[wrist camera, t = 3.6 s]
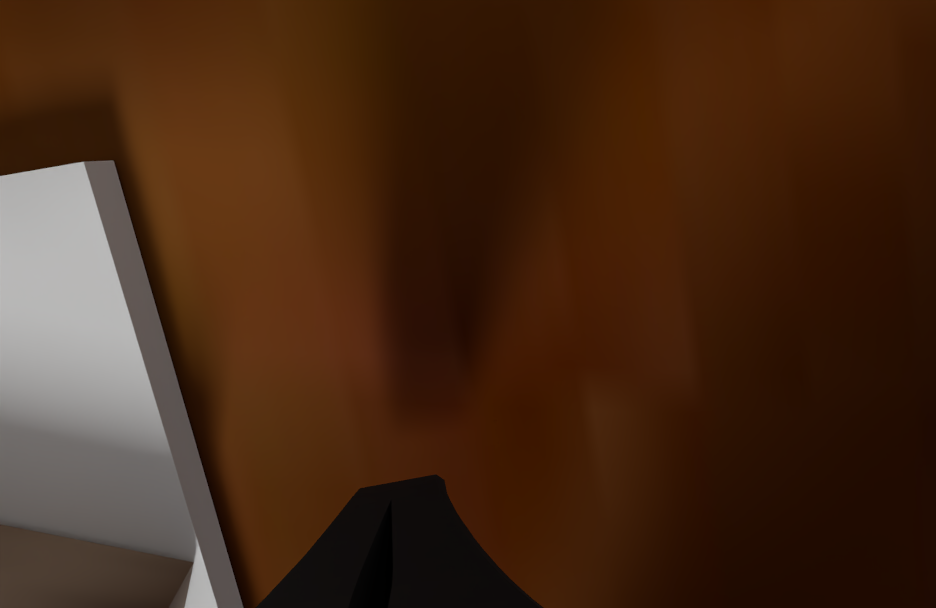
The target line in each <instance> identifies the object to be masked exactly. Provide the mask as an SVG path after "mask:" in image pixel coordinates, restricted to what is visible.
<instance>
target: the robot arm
mask: <svg viewBox="0 0 936 608" xmlns="http://www.w3.org/2000/svg"><path fill="white" fill-rule="evenodd" d="M256 608H543V607H542V606H540V605H539V604H538V603H537V602H536V601H534V600H533V599H532V598H531V597H529V596H528V595H527V594H526V593H525V592H524V591H523V590H522V589H521V588H519V587H518V586H517V585H516V584H515V583H514V582H513V581H512V580H511V579H510V578H509V577H508V576H507V575H506V574H505V573H504V572H503V571H502V570H501V569H500V568H499V567H498V566H497V565H496V564H495V562H494V561H493V560H492V559H491V558H490V557H489V556H488V554H487V553H486V552H485V551H484V550H483V549H482V547H481V546H480V545H479V544H478V542H477V541H476V540H475V539H474V537H473V536H472V534H471V533H470V531H469V530H468V529H467V527H466V526H465V524H464V523H463V522H462V520H461V519H460V517H459V515H458V514H457V512H456V510H455V509H454V507H453V505H452V503H451V501H450V499H449V497H448V495H447V491H446V486H445V481H444V480H443V479H442V478H441V477H439V476H438V475H431V476H425V477H420V478H414V479H409V480H403V481H398V482H393V483H387V484H382V485H376V486H371V487H365V488H360V489H359V490H358V491H357V492H356V493H355V495H354V496H353V497H352V498H351V500H350V501H349V502H348V503H347V505H346V506H345V507H344V508H343V510H342V511H341V512H340V513H339V515H338V516H337V517H336V518H335V520H334V521H333V522H332V523H331V525H330V526H329V527H328V528H327V530H326V531H325V532H324V533H323V534H322V536H321V537H320V538H319V539H318V540H317V542H316V543H315V544H314V545H313V546H312V548H311V549H310V550H309V551H308V552H307V554H306V555H305V556H304V557H303V558H302V559H301V560H300V561H299V562H298V564H297V565H296V566H295V567H294V568H293V569H292V570H291V571H290V572H289V573H288V574H287V575H286V576H285V577H284V579H283V580H282V581H281V582H280V583H279V584H278V585H277V586H276V587H275V588H274V589H273V590H272V591H271V592H270V594H269V595H268V596H267V597H266V598H265V599H264V600H263V601H262V602H261V603H260V604H259V605H258V606H257V607H256Z"/></svg>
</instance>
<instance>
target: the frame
mask: <svg viewBox="0 0 936 608" xmlns="http://www.w3.org/2000/svg"><path fill="white" fill-rule="evenodd" d="M193 564H194V562H190V561H185V560H180V559H175V558H170V557H164V556H159V555H154V554H149V553H144V552H139V551H134V550H129V549H124V548H118V547H113V546H108V545H103V544H98V543H93V542H88V541H83V540H78V539H72V538H67V537H62V536H57V535H52V534H47V533H42V532H37V531H32V530H26V529H21V528H16V527H11V526H6V525H1V524H0V608H184V607H185V602H186V598H187V593H188V588H189V583H190V578H191V574H192V569H193Z"/></svg>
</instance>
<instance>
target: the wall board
mask: <svg viewBox="0 0 936 608" xmlns="http://www.w3.org/2000/svg"><path fill="white" fill-rule="evenodd" d="M0 524H1V525H6V526H11V527H16V528H21V529H26V530H32V531H37V532H42V533H47V534H52V535H57V536H62V537H67V538H72V539H78V540H83V541H88V542H93V543H98V544H103V545H108V546H113V547H118V548H124V549H129V550H134V551H139V552H144V553H149V554H154V555H159V556H164V557H170V558H175V559H180V560H185V561H190V562H194V564H193V569H192V574H191V578H190V583H189V588H188V593H187V598H186V602H185V607H184V608H243V605H242V601H241V598H240V594H239V591H238V587H237V584H236V581H235V577H234V574H233V570H232V567H231V563H230V560H229V556H228V553H227V550H226V546H225V543H224V539H223V536H222V532H221V529H220V525H219V522H218V518H217V515H216V512H215V508H214V505H213V501H212V498H211V494H210V491H209V487H208V484H207V481H206V477H205V474H204V470H203V467H202V463H201V460H200V456H199V453H198V450H197V446H196V443H195V439H194V436H193V432H192V429H191V425H190V422H189V419H188V415H187V412H186V408H185V405H184V401H183V398H182V394H181V391H180V388H179V384H178V381H177V377H176V374H175V370H174V367H173V363H172V360H171V357H170V353H169V350H168V346H167V343H166V339H165V336H164V332H163V329H162V325H161V322H160V319H159V315H158V312H157V308H156V305H155V301H154V298H153V294H152V291H151V288H150V284H149V281H148V277H147V274H146V270H145V267H144V263H143V260H142V257H141V253H140V250H139V246H138V243H137V239H136V236H135V232H134V229H133V226H132V222H131V219H130V215H129V212H128V208H127V205H126V201H125V198H124V195H123V191H122V188H121V184H120V181H119V177H118V174H117V170H116V167H115V164H114V160H110V161H88V162H79V163H73V164H67V165H62V166H56V167H50V168H44V169H39V170H33V171H27V172H21V173H16V174H10V175H4V176H0Z"/></svg>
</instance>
